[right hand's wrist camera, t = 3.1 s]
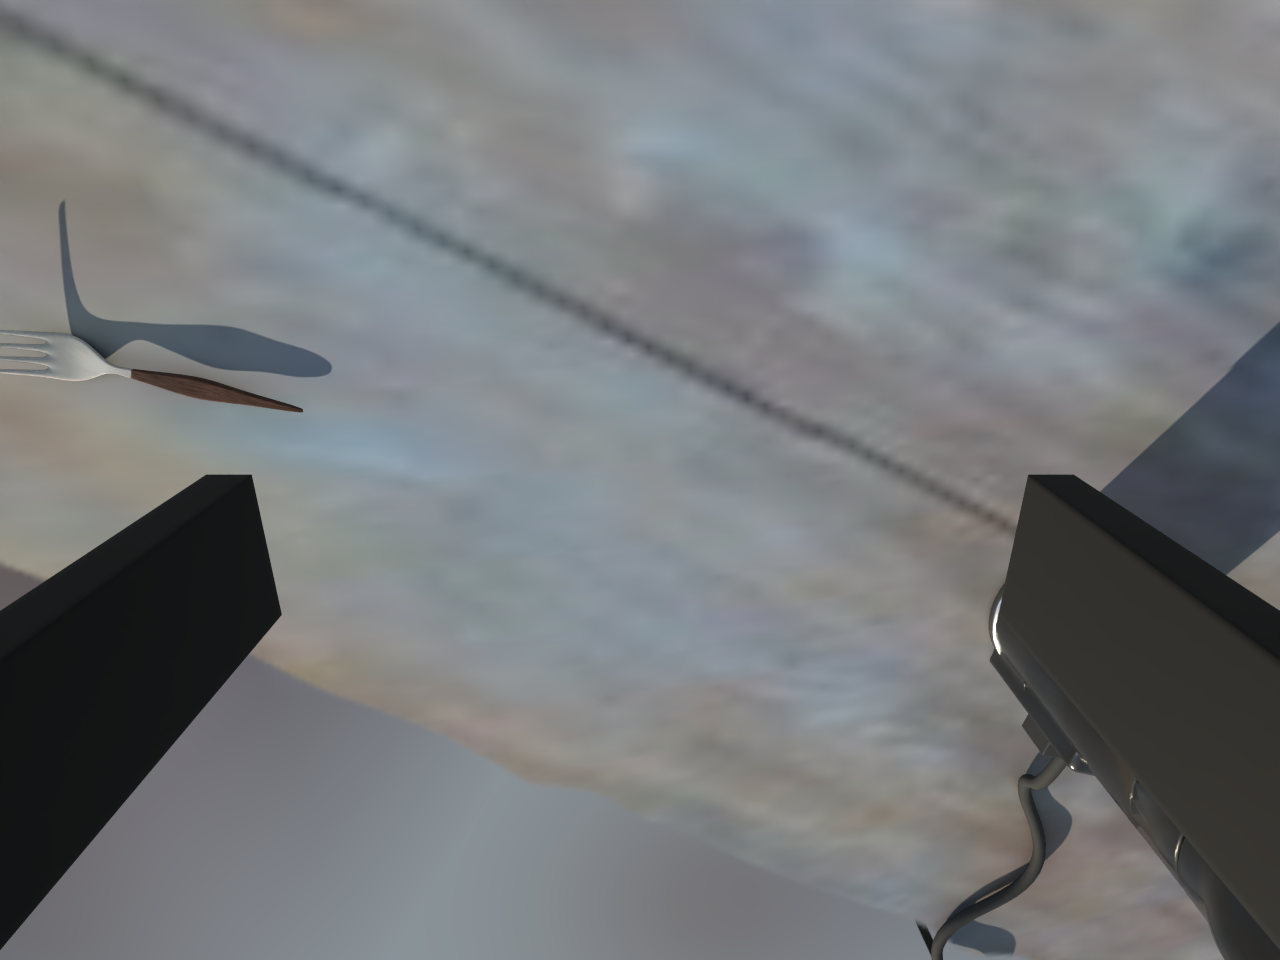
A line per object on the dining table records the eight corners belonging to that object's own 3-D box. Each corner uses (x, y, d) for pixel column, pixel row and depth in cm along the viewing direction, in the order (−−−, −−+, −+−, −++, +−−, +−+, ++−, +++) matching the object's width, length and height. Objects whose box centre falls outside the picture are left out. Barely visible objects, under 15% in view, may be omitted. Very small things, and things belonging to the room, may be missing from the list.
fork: (305, 430, 41) (289, 441, 39) (9, 366, 40) (-22, 374, 38) (308, 386, 40) (292, 395, 38) (4, 319, 39) (-28, 325, 37)
